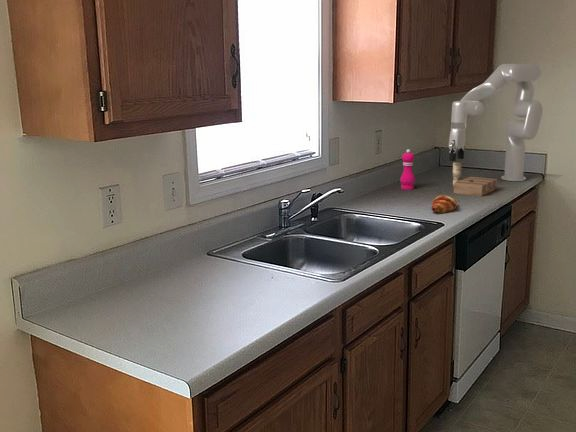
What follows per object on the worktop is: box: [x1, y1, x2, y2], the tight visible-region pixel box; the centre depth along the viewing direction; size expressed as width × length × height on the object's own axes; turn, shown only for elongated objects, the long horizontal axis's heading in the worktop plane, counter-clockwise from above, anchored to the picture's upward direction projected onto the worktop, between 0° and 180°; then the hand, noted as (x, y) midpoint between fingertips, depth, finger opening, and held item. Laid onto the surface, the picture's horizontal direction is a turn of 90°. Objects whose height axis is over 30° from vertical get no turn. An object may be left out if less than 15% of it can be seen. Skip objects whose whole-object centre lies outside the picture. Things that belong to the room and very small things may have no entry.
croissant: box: [431, 195, 458, 214], centre depth 282 cm, size 21×10×8 cm, turn 142°
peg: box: [452, 161, 462, 187], centre depth 331 cm, size 4×4×12 cm
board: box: [453, 176, 498, 197], centre depth 318 cm, size 20×14×5 cm
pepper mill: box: [399, 149, 416, 191], centre depth 326 cm, size 7×7×20 cm
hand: (456, 159), depth 329 cm, fingers open, 9 cm apart
